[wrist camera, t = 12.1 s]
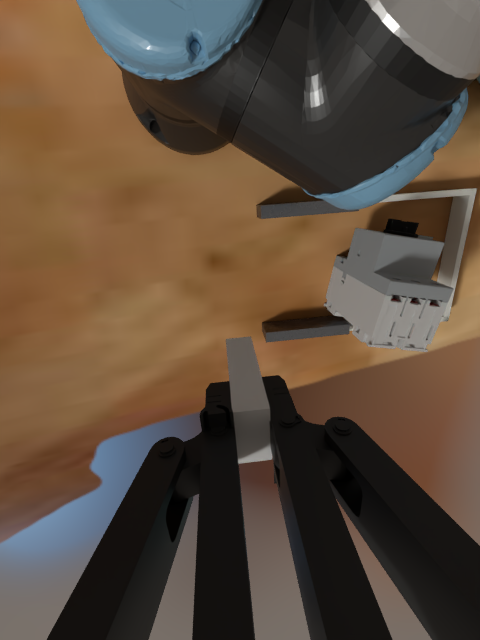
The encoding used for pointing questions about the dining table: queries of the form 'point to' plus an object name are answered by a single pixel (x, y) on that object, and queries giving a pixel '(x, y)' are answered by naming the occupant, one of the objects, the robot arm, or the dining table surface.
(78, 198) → the dining table surface
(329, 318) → the dark gray open bay
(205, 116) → the robot arm
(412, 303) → the circuit breaker
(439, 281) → the parts bay
